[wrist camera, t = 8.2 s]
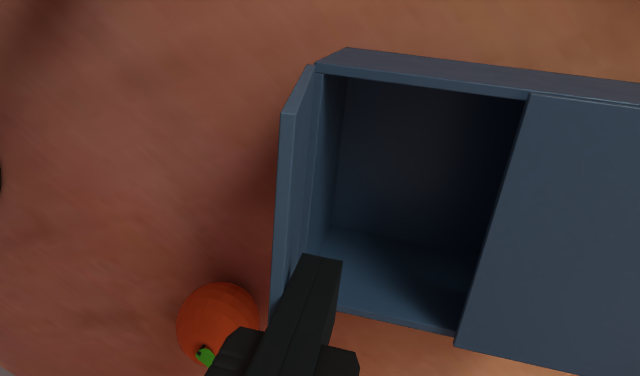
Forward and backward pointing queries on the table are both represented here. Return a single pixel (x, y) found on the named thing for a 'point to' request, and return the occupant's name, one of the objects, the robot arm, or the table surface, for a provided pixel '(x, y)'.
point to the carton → (481, 205)
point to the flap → (290, 184)
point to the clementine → (213, 319)
